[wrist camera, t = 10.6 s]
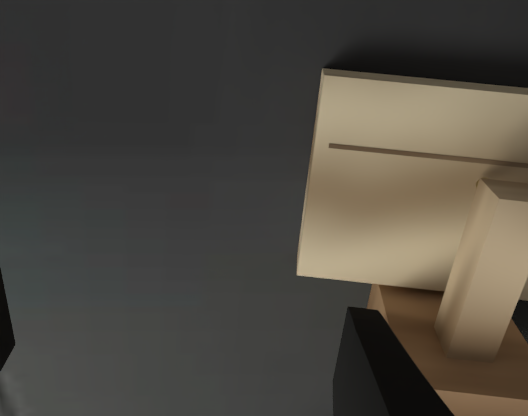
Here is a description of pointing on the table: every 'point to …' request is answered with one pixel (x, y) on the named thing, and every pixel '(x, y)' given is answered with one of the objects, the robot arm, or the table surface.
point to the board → (403, 173)
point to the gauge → (472, 310)
